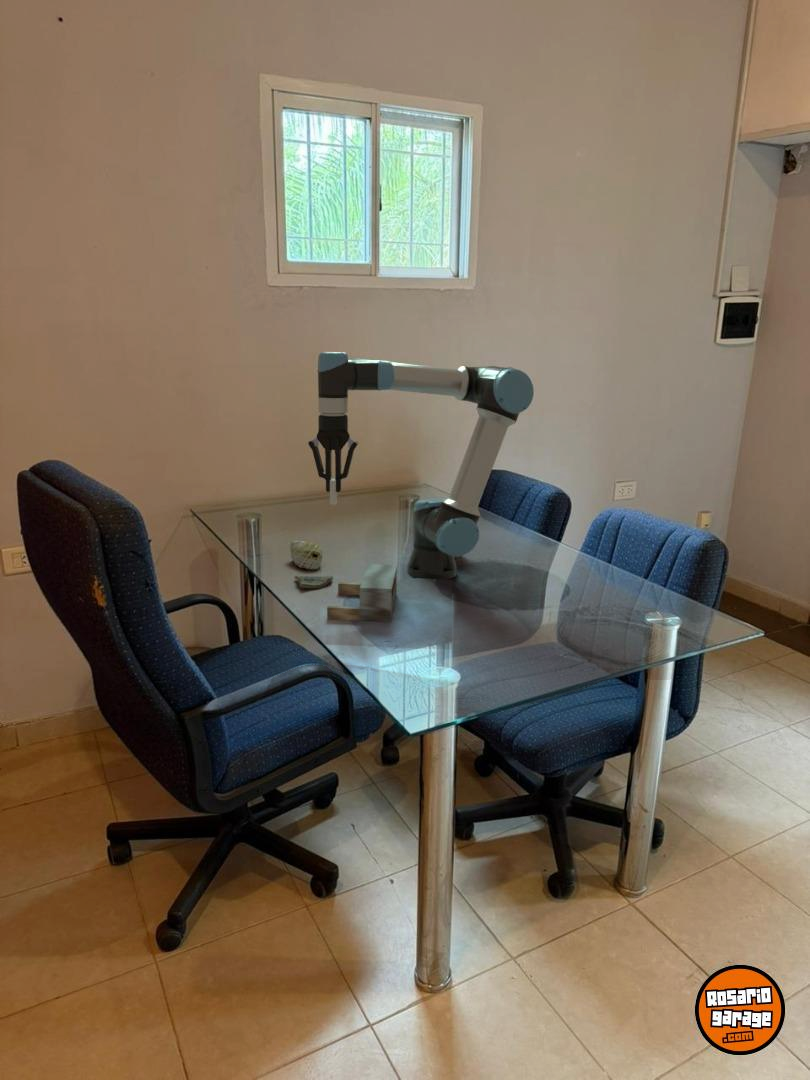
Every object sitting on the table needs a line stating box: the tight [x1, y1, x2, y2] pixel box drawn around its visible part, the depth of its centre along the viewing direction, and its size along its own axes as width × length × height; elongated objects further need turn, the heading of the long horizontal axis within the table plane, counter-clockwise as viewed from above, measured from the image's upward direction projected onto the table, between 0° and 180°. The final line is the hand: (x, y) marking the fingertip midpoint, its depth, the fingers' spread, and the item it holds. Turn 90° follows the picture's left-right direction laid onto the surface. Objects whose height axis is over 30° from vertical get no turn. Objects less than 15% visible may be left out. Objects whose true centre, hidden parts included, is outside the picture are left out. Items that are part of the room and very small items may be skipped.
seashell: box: [290, 540, 323, 570], centre depth 224 cm, size 10×10×10 cm
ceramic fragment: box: [294, 575, 334, 589], centre depth 209 cm, size 11×3×10 cm
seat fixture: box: [326, 563, 398, 623], centre depth 192 cm, size 16×19×8 cm
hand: (333, 503), depth 198 cm, fingers closed
